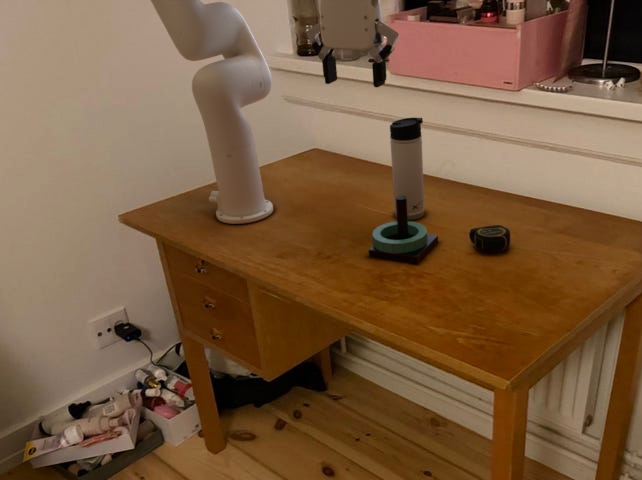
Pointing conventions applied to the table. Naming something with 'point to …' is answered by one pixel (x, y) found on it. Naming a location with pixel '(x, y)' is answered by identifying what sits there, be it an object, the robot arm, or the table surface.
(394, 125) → the travel mug
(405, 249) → the bangle
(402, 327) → the table surface
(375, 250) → the stand
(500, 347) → the table surface
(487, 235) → the tape measure
